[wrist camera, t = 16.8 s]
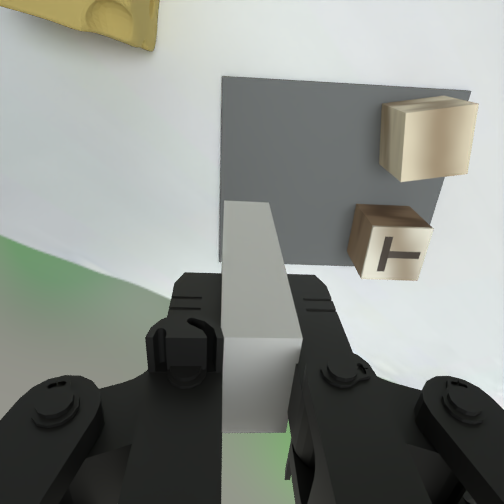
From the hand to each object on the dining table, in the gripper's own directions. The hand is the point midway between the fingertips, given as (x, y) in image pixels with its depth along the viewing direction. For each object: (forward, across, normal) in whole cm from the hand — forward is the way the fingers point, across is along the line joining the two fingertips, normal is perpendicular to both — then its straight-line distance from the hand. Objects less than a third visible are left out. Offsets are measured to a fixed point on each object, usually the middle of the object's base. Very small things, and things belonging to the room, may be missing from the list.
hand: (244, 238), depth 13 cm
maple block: (+27, +18, -1) cm, 32 cm away
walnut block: (+20, +17, -12) cm, 29 cm away
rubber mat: (+27, +11, -7) cm, 30 cm away
